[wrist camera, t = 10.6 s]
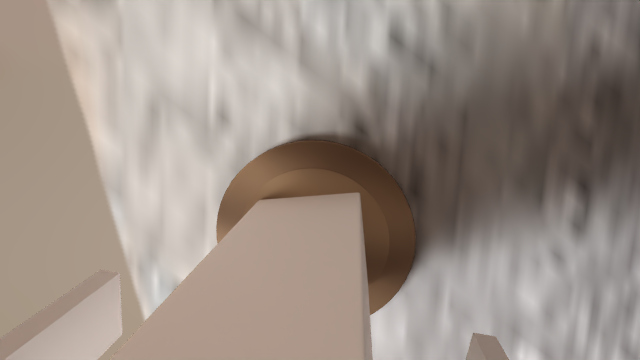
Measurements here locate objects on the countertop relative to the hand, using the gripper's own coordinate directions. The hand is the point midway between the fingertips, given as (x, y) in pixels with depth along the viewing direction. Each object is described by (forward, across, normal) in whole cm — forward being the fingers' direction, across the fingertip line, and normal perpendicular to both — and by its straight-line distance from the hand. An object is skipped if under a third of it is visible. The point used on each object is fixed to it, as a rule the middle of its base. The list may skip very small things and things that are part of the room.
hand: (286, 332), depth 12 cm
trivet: (+9, 0, 0) cm, 9 cm away
